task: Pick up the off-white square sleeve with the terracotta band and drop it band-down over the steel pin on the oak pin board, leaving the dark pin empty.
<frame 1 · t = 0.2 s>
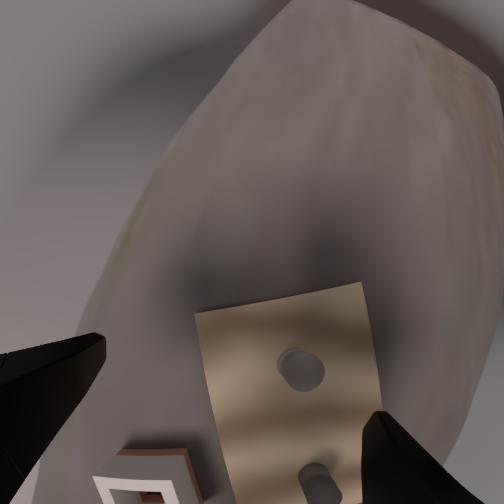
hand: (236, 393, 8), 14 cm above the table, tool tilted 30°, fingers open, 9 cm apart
pin board: (301, 419, 21), on the table
sleeve: (162, 477, 19), on the table
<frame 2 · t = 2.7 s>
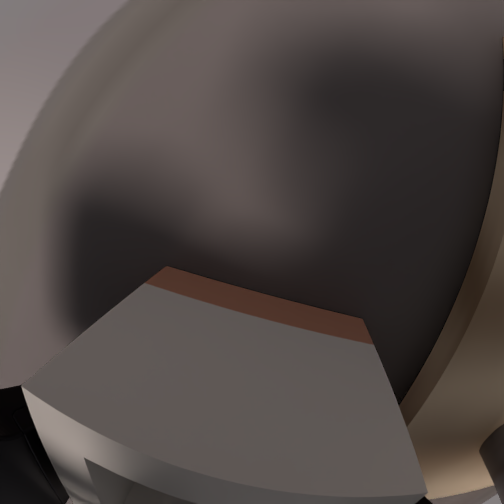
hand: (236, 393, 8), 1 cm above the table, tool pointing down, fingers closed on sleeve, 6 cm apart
sleeve: (241, 373, 9), on the table, touching gripper
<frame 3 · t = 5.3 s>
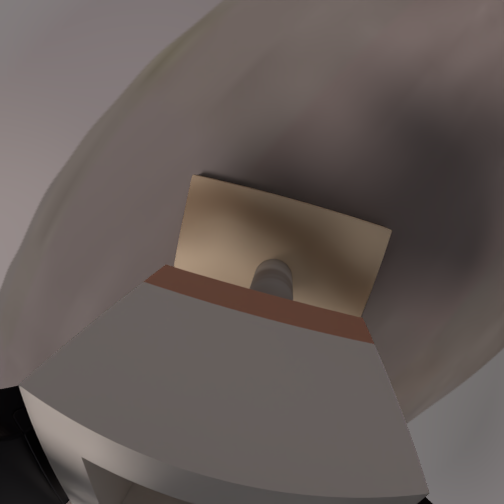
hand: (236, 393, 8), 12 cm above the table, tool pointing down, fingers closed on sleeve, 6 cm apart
pin board: (255, 334, 22), on the table
sleeve: (241, 373, 9), point 11 cm above the table, touching gripper
when the fingers open (3 cm above the table, at t = 7.9 s): sleeve drops 1 cm, resting on pin board.
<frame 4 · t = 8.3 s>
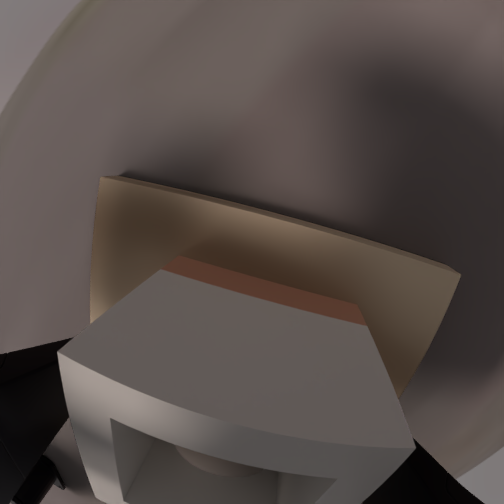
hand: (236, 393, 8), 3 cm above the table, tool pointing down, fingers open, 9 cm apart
pin board: (226, 421, 13), on the table
sleeve: (246, 356, 10), point 1 cm above the table, touching pin board
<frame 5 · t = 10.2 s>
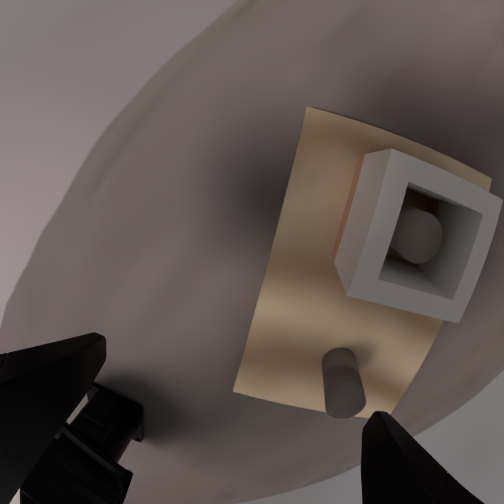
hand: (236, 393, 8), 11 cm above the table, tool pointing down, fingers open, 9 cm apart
pin board: (362, 290, 19), on the table
sleeve: (392, 220, 16), point 1 cm above the table, touching pin board
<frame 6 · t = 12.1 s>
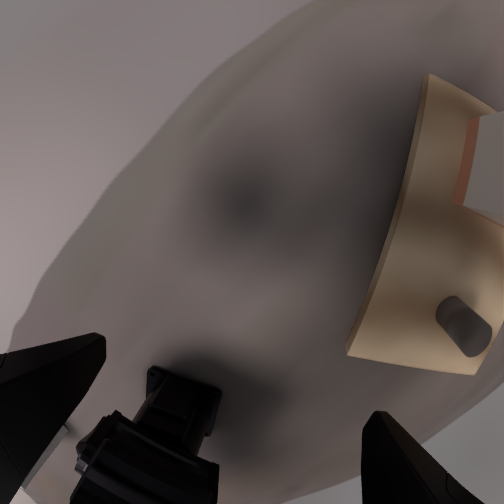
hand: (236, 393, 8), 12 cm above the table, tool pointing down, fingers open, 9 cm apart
pin board: (466, 241, 18), on the table
sleeve: (492, 176, 15), point 1 cm above the table, touching pin board
supplement box: (42, 410, 29), on the table
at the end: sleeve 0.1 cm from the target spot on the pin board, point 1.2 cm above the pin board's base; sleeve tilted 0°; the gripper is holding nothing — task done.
